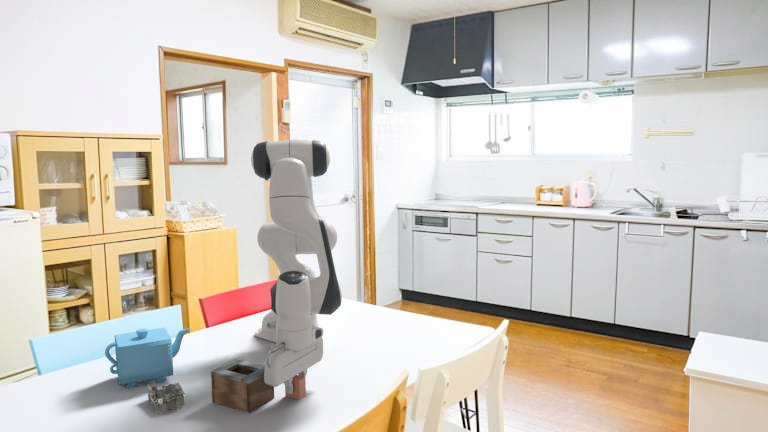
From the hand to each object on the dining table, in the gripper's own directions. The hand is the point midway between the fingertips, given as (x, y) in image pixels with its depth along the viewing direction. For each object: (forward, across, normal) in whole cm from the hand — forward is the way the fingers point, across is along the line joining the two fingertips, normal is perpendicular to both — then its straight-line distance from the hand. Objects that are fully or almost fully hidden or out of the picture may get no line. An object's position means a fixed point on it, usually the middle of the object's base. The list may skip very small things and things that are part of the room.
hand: (295, 389), depth 140 cm
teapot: (+2, -9, +42) cm, 43 cm away
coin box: (+2, -8, +10) cm, 13 cm away
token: (+2, 0, 0) cm, 2 cm away
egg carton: (+2, -18, +26) cm, 32 cm away
